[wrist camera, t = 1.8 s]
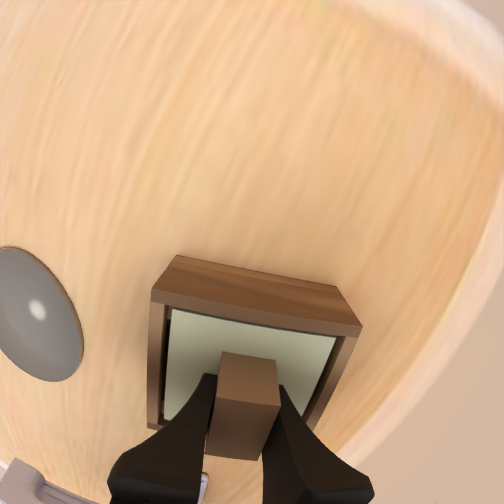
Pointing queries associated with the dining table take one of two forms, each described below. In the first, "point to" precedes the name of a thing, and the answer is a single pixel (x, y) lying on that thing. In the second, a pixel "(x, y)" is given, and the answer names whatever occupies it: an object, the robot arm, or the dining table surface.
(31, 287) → the coaster
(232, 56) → the dining table surface
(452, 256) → the dining table surface
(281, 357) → the lid
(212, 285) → the brown wooden open box
